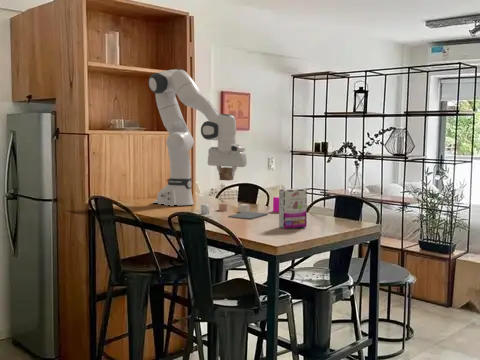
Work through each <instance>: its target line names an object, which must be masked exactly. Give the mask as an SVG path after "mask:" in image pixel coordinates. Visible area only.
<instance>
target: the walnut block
mask: <svg viewBox="0 0 480 360" xmlns="http://www.w3.org/2000/svg"><path fill="white" fill-rule="evenodd" d="M232 170H233V169H232V167H230V166H221V168H220V175H219V181H229V182H230V181H234V176H230V172H232Z"/></svg>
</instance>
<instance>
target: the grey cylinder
mask: <svg viewBox="0 0 480 360" xmlns="http://www.w3.org/2000/svg"><path fill="white" fill-rule="evenodd" d="M200 214H201V215H210V204H207V203H205V204H203V203H202V204H200Z"/></svg>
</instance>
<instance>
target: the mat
mask: <svg viewBox="0 0 480 360" xmlns="http://www.w3.org/2000/svg"><path fill="white" fill-rule="evenodd" d="M265 216H268V212H267V213H265V212H257V211H254V212H253V211H250V212H242V213H241V212H238V213H235V214H231V215H227V218H231V219H232V218H233V219H240V220H250V221H251V220H255V219H259V218H262V217H265Z"/></svg>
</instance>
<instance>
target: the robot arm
mask: <svg viewBox="0 0 480 360" xmlns="http://www.w3.org/2000/svg"><path fill="white" fill-rule="evenodd" d="M148 87H149V89H150V91H151V92H153V94H155V95H154V96H155V103H156V107H157V109H158V112H159V115H160V119H161V121H162V123H163V126H164V128H165V129H166V131H167V132H168V134H169V136H167V138H166V143H165V144H166V146H167V151H168V157H169V167H170V168H169V176H170V177H169V178H168V179H166V180H165V182H166V183H167V184H166V185H165V186H164V187H163V188H162V189H160V190H159V191H158V193H157V197H156V200H154V201H152V204H153V203H158V204H157V205H161V204H164V205H163V206H168V205H170V206H171V207H174V205H177V206H191V205H194V204H195V202H194V200H193V194H192V185H193V184H192V176H191V175H192V167H191V166H192V164H191V161H190V154H189V151H190V150H191V149H192V148H193V146H194V144H195V141H194V137H193V136H192V134H191V132H190V129H189V127H188V124H187V123H186V121H185V119H184V116H183V114H182V111H181V108H180V105H179V102H178V99H179V101H180V102H181V103H182V104H183V105H184V106H186V107H188V108H192V109H193V110H197V111H199V112H200V113H202V114H203V116H205V118H206V119H207V121H206V120H205V121H204V122H203V123H202V125H201V126H200V134H201V137H202V138H203V139H204V140H207V141H217V146H211V147H210V148H209V149H208V152H207V153H208V156H207V165H208V166H212V167H213V166H214V167H216V170H217V172H218V176H220V168H222V167H231V168H232V169H233V170H232V172H230V176H233V177H235V172H236V171H237V170H238V168H244V167H246V166H247V154H246V152H245V151H246V147H245V146H243V145H240V144H238V143H237V139H236V134H237V121H236V118H235V116H234V115H232V114H229V113H219V112H218V111H217V109H216V108H215V107H214V105H213V104H212V103H211V102H210V100H208V98H207V97H206V96H205V95H204V94H203V92H202V91H201V90H200V88H199V87H198V85H197V84H196V83H195V81H194V79H193V78H192V77H191V76H190V74H188V72H187V71H185V70H184V69H181V68H175V69H168V70H167V69H166V70H164V71H163V70H162V71H159V72H155V73H153V74H151V75H149V77H148ZM176 96H177V97H176ZM177 98H178V99H177Z"/></svg>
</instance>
